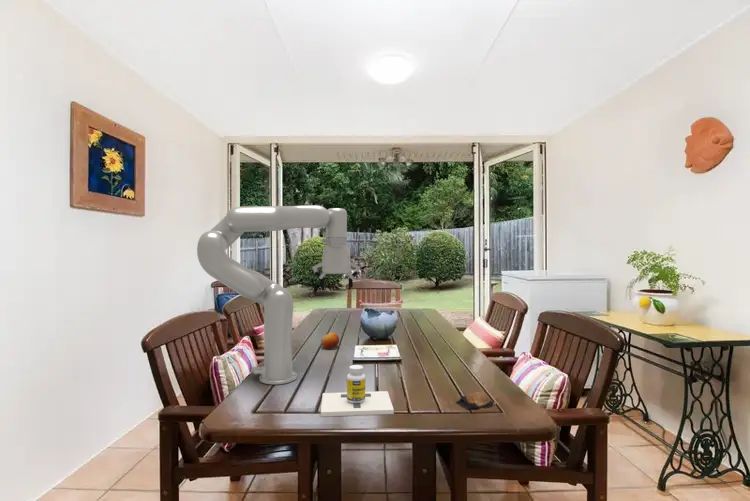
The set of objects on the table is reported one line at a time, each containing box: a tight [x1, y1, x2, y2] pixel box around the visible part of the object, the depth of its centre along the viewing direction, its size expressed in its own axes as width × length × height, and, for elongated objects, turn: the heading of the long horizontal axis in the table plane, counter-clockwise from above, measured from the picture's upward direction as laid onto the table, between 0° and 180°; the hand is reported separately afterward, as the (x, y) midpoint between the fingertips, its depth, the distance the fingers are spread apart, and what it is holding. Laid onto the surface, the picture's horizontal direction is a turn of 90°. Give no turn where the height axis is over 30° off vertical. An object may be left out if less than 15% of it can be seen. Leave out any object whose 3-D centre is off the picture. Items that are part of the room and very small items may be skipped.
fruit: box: [320, 332, 340, 350], centre depth 181 cm, size 8×8×8 cm
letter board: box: [320, 390, 395, 418], centre depth 117 cm, size 20×14×1 cm
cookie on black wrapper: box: [455, 391, 497, 412], centre depth 119 cm, size 11×8×4 cm
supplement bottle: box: [346, 364, 366, 403], centre depth 117 cm, size 5×5×10 cm
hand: (336, 289), depth 146 cm, fingers open, 9 cm apart
